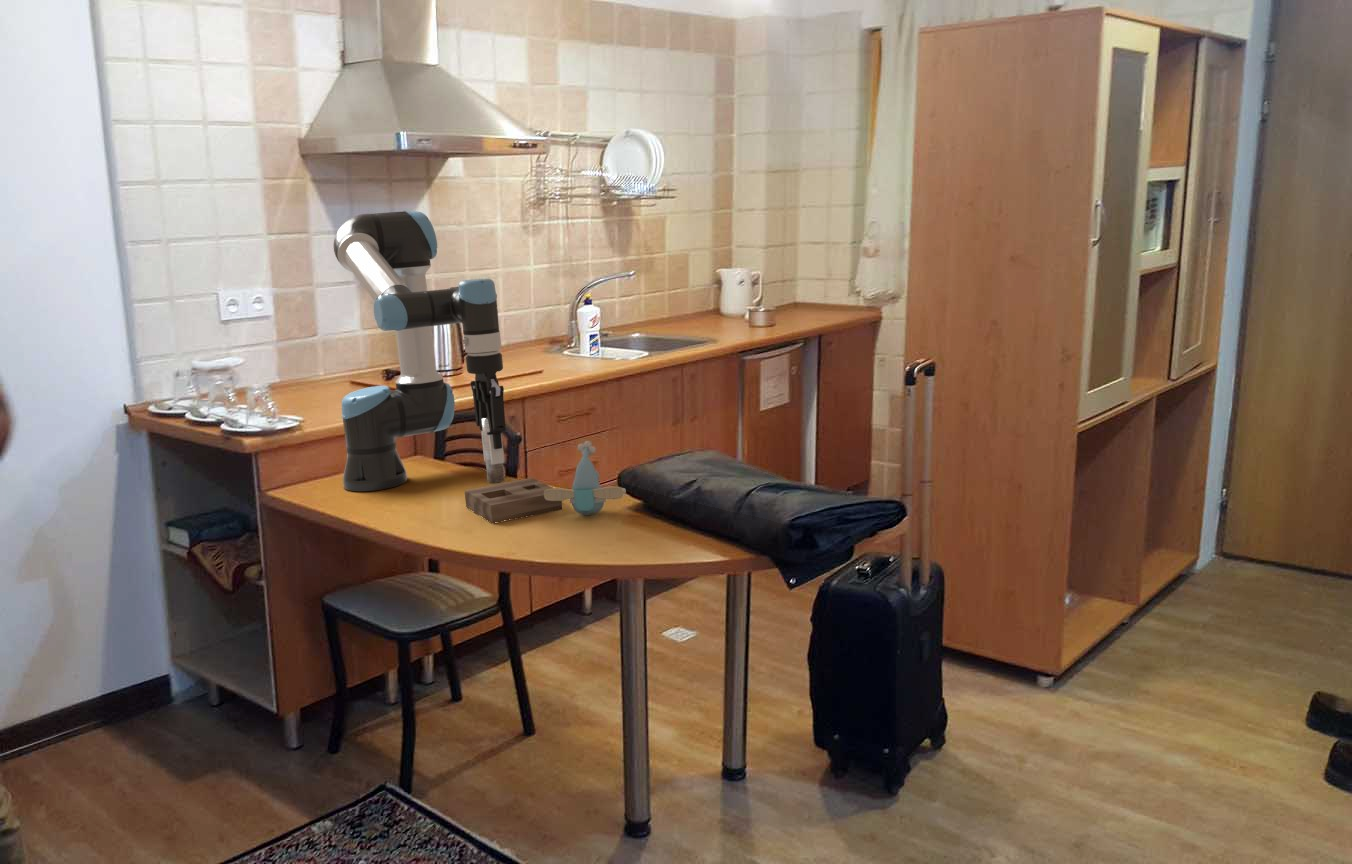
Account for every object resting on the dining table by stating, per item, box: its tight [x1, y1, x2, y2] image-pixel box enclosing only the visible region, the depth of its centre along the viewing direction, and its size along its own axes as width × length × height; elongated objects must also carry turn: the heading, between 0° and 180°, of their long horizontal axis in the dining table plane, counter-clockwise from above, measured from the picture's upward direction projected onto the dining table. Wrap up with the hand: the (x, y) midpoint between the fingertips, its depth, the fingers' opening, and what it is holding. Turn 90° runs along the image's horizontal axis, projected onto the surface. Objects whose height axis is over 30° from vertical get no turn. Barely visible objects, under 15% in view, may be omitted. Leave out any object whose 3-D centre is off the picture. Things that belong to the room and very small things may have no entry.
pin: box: [481, 417, 505, 485], centre depth 237 cm, size 4×4×14 cm
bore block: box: [464, 477, 563, 524], centre depth 241 cm, size 16×16×4 cm
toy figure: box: [544, 440, 627, 516], centre depth 233 cm, size 17×10×15 cm, turn 84°
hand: (494, 461), depth 238 cm, fingers closed on pin, 3 cm apart
